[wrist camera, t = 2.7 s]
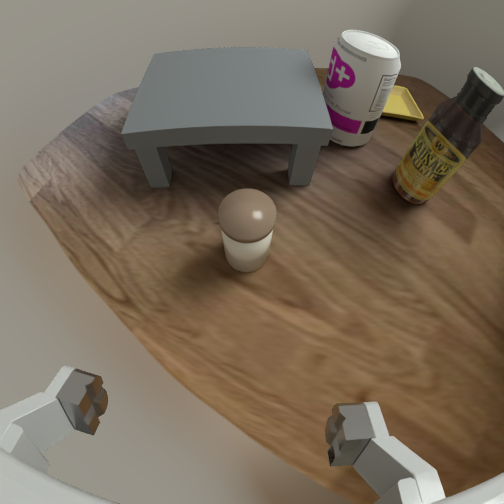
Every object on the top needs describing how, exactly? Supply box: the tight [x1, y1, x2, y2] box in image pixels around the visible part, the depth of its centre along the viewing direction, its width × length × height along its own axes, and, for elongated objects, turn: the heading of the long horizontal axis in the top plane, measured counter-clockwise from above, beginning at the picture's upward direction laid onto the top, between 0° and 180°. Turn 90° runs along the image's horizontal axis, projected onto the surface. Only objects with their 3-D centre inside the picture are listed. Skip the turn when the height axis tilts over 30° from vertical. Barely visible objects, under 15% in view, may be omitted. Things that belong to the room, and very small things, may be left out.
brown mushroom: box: [218, 189, 277, 272], centre depth 28 cm, size 5×5×8 cm
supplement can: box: [323, 30, 401, 147], centre depth 32 cm, size 8×8×15 cm
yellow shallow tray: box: [381, 85, 424, 120], centre depth 42 cm, size 9×9×2 cm
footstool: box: [121, 47, 333, 188], centre depth 33 cm, size 20×16×10 cm
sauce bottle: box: [393, 67, 504, 204], centre depth 26 cm, size 7×6×20 cm
